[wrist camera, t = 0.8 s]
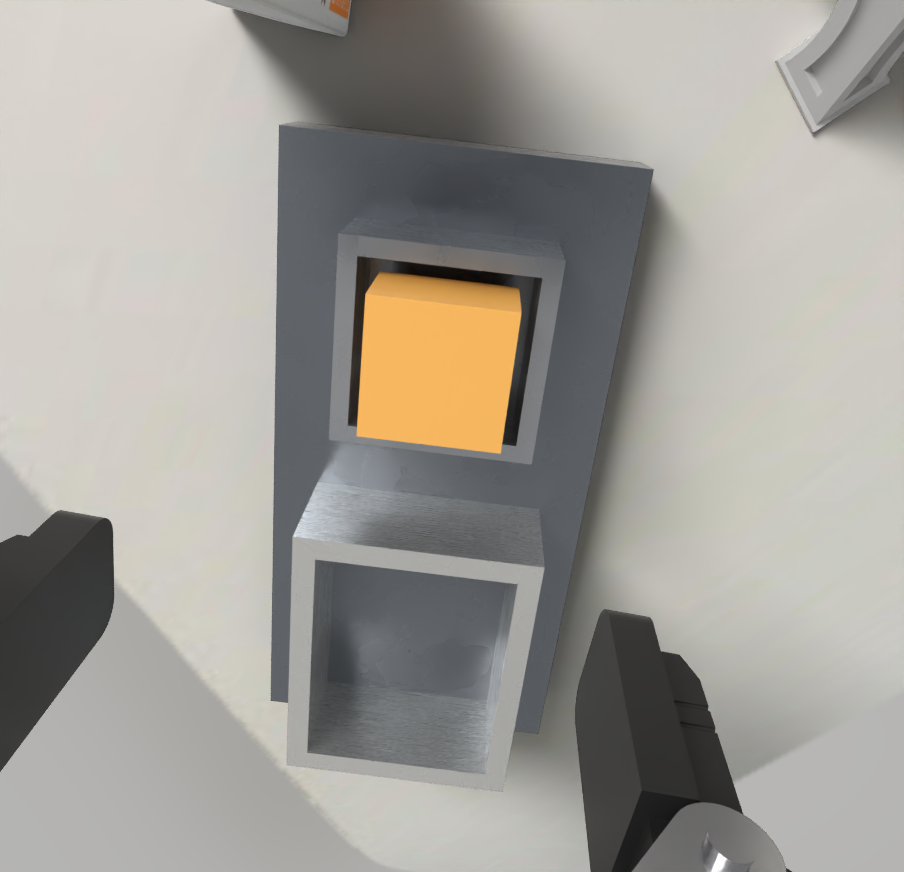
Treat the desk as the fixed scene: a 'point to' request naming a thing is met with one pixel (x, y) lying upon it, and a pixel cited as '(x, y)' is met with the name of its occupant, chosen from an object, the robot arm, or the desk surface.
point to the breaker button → (437, 361)
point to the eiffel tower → (844, 59)
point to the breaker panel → (434, 447)
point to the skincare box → (299, 12)
